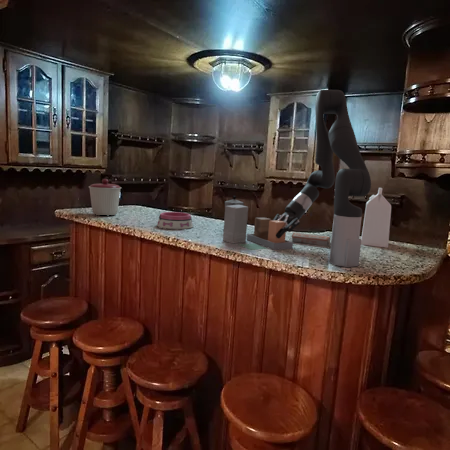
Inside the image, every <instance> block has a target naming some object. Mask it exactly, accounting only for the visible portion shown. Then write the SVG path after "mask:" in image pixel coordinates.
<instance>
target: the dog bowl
mask: <svg viewBox="0 0 450 450" xmlns="http://www.w3.org/2000/svg"><path fill="white" fill-rule="evenodd" d="M191 215H192V214H190V213H188V212H182V211H181V212H179V211H165V212H161V213H159V217H158V220H157V224H156V227H157V226H158V227H157V228H159V227H162V228H161V229H163V228H166V229H165V230H171V229H178V230H177V231H181V230H182V229H186V230H191V229H193V228H194V226H193V219H192V216H191ZM182 231H183V230H182Z"/></svg>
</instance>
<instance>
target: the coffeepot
mask: <svg viewBox="0 0 450 450" xmlns="http://www.w3.org/2000/svg"><path fill="white" fill-rule="evenodd" d="M236 198H237V196H236V195H233V196H232V199H229V200H226V201H224V207H225V206H230V205H243V206H245V205H244V203H245V202H243V201H242V200H241V201H240V200H238V199H236ZM222 232H223V233H224V228H223V230H222Z"/></svg>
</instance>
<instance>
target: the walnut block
mask: <svg viewBox="0 0 450 450" xmlns="http://www.w3.org/2000/svg"><path fill="white" fill-rule="evenodd" d="M269 221H272V219H271V218H269V217H268V218H267V217H254V227H253V229H254V230H253V231H254V232H253V234H254V236H256V237H259V238H262V239H264V240H267V241H268V231H269Z"/></svg>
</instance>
